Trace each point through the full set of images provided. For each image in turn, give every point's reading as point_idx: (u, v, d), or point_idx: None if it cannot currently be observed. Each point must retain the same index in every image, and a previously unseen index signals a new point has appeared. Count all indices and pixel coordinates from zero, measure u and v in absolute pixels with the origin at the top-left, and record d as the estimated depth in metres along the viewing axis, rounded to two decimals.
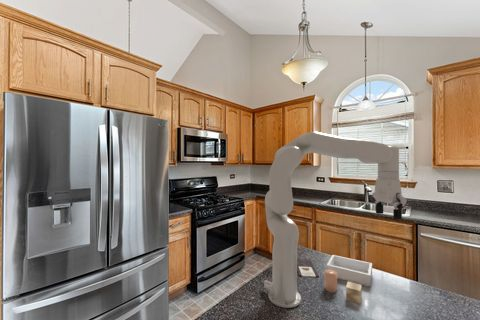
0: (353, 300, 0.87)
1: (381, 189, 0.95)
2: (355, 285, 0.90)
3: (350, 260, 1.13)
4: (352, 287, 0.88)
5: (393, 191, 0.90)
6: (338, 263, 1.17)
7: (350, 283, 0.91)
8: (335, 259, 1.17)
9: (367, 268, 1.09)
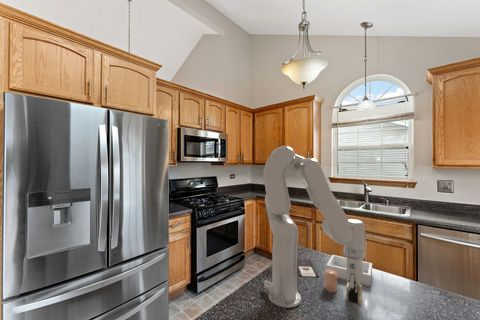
0: None
1: (361, 269, 0.87)
2: None
3: None
4: None
5: None
6: (338, 263, 1.17)
7: None
8: (335, 259, 1.17)
9: (367, 268, 1.09)
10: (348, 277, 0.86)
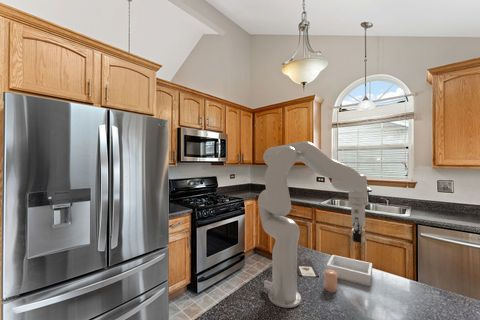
0: None
1: (364, 214, 1.03)
2: None
3: (350, 260, 1.13)
4: None
5: None
6: (338, 263, 1.17)
7: None
8: (335, 259, 1.17)
9: (367, 268, 1.09)
10: (353, 221, 1.02)
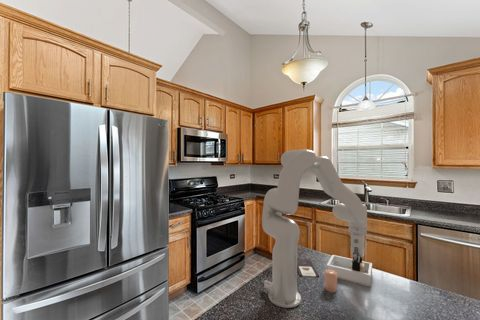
0: None
1: (363, 244, 1.04)
2: None
3: (350, 260, 1.13)
4: None
5: None
6: (338, 263, 1.17)
7: None
8: (335, 259, 1.17)
9: (367, 268, 1.09)
10: (352, 250, 1.03)
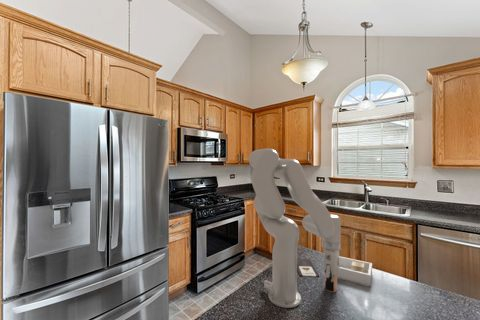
0: None
1: (337, 260, 0.94)
2: (359, 264, 1.07)
3: (350, 260, 1.13)
4: (356, 265, 1.05)
5: None
6: None
7: (354, 262, 1.08)
8: None
9: (367, 268, 1.09)
10: (324, 268, 0.92)
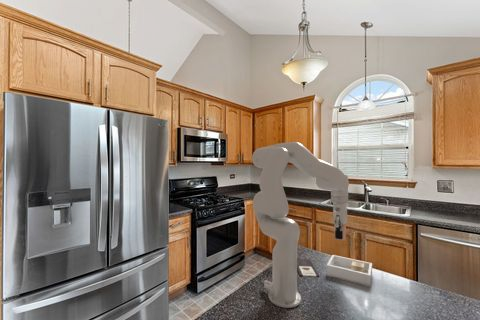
0: None
1: (345, 212, 1.07)
2: (359, 264, 1.07)
3: (350, 260, 1.13)
4: (356, 265, 1.05)
5: None
6: (338, 263, 1.17)
7: (354, 262, 1.08)
8: (335, 259, 1.17)
9: (367, 268, 1.09)
10: (334, 218, 1.05)
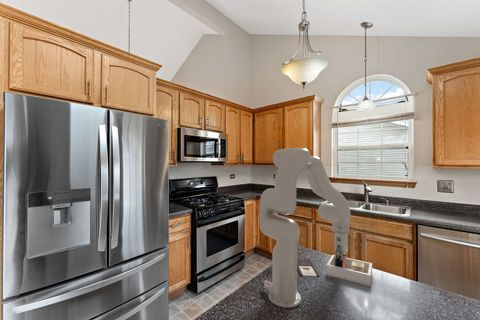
0: None
1: (346, 242, 1.09)
2: (359, 264, 1.07)
3: (350, 260, 1.13)
4: (356, 265, 1.05)
5: None
6: None
7: (354, 262, 1.08)
8: None
9: (367, 268, 1.09)
10: (335, 248, 1.07)
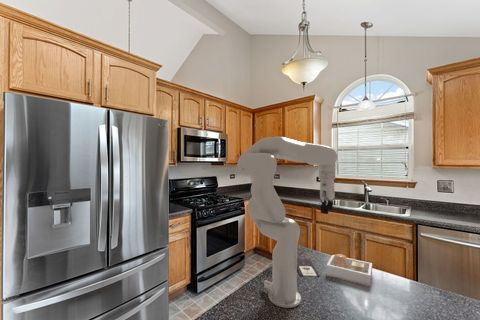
0: None
1: (332, 188, 1.06)
2: (359, 264, 1.07)
3: (350, 260, 1.13)
4: (356, 265, 1.05)
5: None
6: None
7: (354, 262, 1.08)
8: None
9: (367, 268, 1.09)
10: (321, 194, 1.04)
